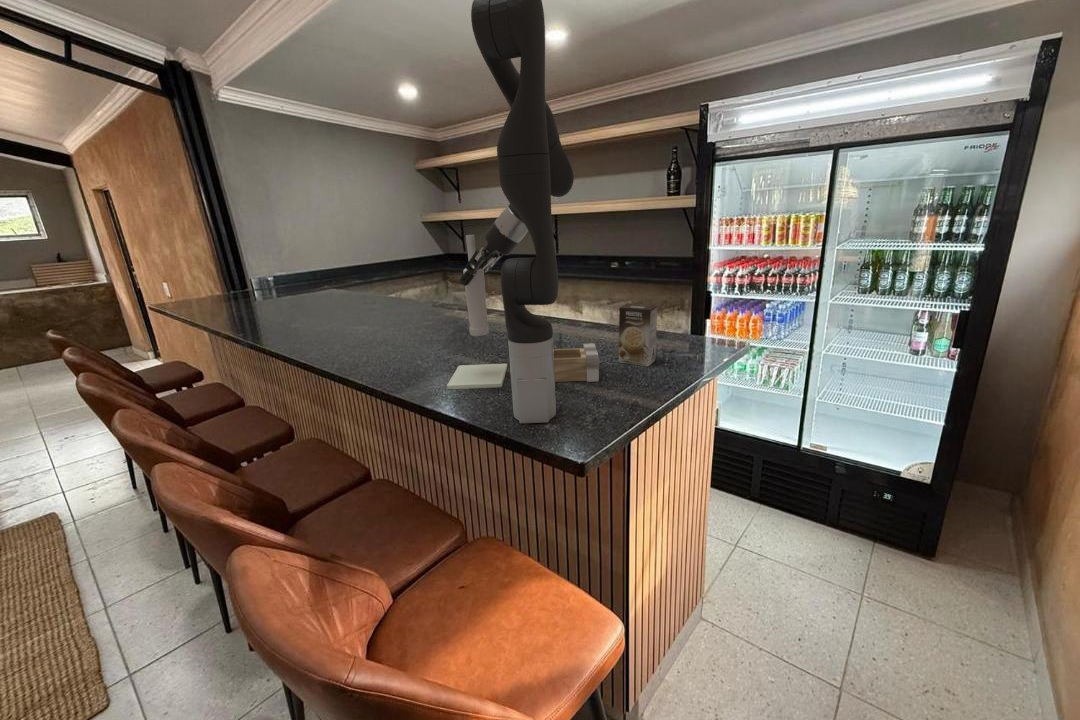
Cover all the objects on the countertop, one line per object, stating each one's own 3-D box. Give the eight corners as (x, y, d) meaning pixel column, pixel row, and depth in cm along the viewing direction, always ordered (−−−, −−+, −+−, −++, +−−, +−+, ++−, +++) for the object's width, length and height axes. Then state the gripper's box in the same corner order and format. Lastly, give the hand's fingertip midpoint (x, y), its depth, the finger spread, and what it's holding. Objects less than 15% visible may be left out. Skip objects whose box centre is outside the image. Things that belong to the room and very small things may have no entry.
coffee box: (617, 362, 127) (617, 307, 122) (625, 356, 133) (626, 302, 128) (648, 367, 123) (650, 309, 118) (656, 360, 128) (658, 304, 123)
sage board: (501, 387, 114) (501, 383, 113) (447, 389, 114) (446, 385, 114) (507, 366, 129) (507, 363, 129) (459, 368, 129) (458, 365, 129)
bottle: (480, 336, 114) (471, 235, 107) (465, 335, 117) (454, 236, 110) (493, 332, 118) (484, 234, 111) (478, 330, 121) (468, 234, 114)
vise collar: (598, 381, 114) (598, 355, 112) (538, 383, 115) (537, 357, 113) (594, 365, 126) (593, 341, 124) (539, 367, 127) (538, 343, 125)
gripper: (507, 219, 114) (469, 268, 121) (485, 220, 101) (443, 274, 108) (528, 239, 114) (489, 287, 121) (508, 243, 101) (465, 296, 108)
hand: (467, 281), depth 114 cm, fingers closed on bottle, 5 cm apart
